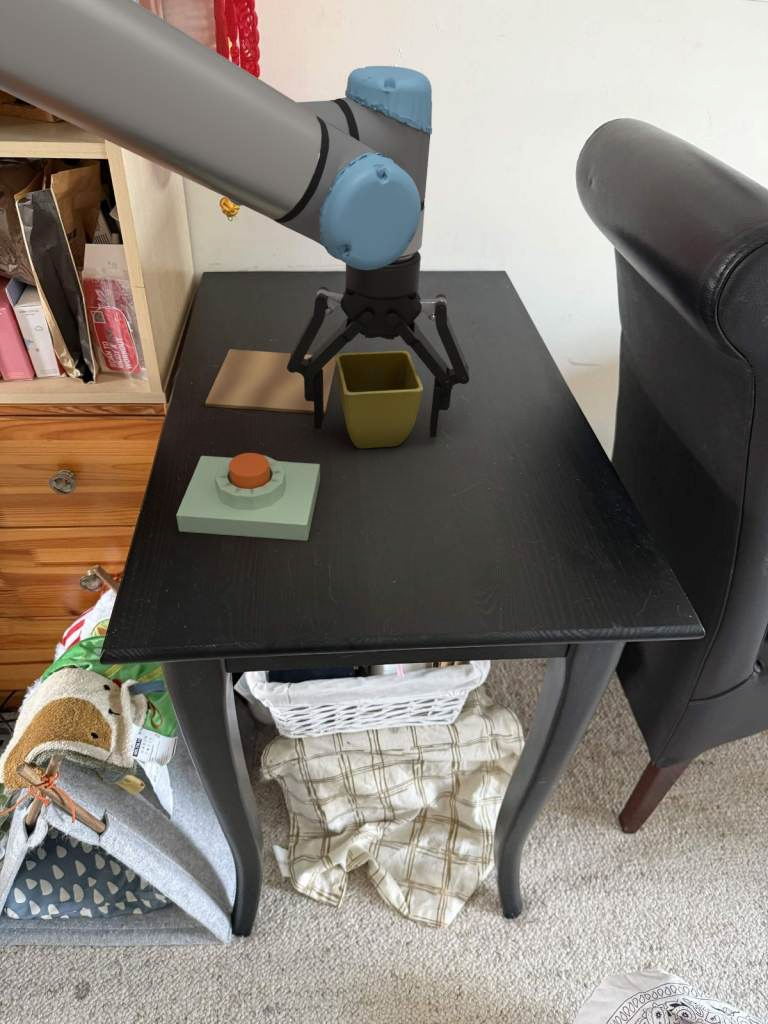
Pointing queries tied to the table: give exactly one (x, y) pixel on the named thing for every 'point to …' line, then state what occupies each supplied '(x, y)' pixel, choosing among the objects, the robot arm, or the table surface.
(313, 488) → the green button base
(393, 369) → the flower pot
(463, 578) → the table surface
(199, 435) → the table surface
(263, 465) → the round orange button
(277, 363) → the brown wooden board
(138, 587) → the table surface
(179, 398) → the table surface
